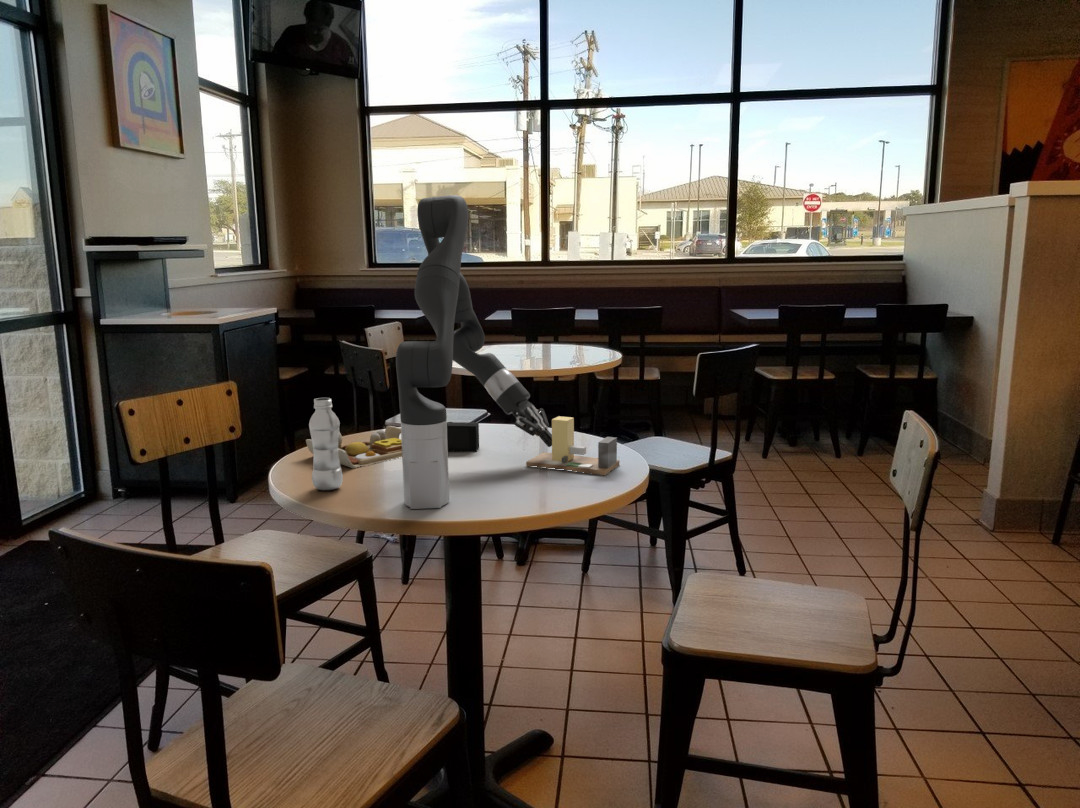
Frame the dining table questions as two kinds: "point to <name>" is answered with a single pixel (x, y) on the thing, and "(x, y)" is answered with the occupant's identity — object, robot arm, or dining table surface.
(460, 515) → the dining table surface
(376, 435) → the toy food set
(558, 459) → the block
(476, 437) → the digital camera
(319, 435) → the plastic bottle
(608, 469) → the base
